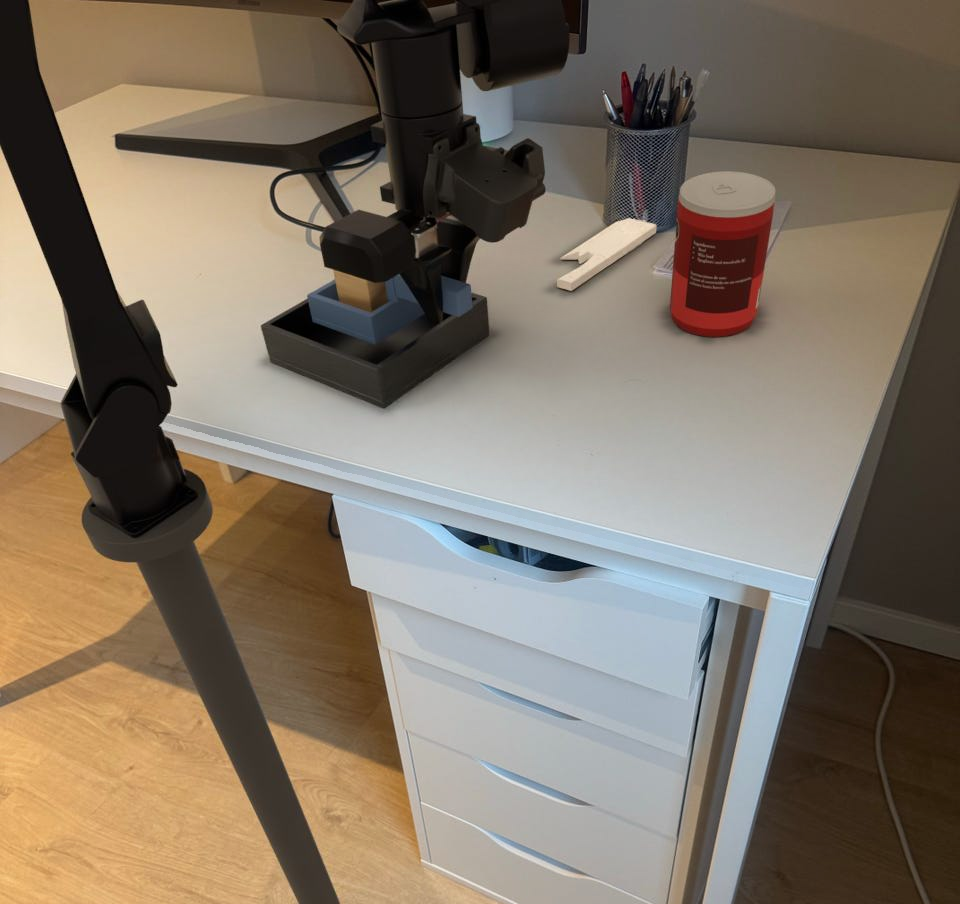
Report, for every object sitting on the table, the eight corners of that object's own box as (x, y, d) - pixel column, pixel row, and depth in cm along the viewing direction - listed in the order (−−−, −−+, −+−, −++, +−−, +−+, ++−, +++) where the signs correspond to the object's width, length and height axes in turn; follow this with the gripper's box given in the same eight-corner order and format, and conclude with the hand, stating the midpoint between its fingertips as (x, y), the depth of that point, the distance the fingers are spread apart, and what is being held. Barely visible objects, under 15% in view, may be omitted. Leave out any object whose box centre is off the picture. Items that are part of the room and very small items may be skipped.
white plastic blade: (529, 279, 89) (529, 268, 88) (616, 224, 96) (616, 213, 95) (571, 291, 86) (571, 279, 85) (657, 233, 94) (657, 222, 93)
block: (374, 324, 77) (366, 279, 74) (341, 313, 79) (332, 268, 76) (405, 305, 79) (398, 260, 76) (372, 294, 81) (365, 250, 78)
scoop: (438, 368, 72) (431, 309, 69) (312, 322, 79) (300, 266, 76) (497, 327, 76) (494, 269, 73) (372, 286, 83) (363, 232, 79)
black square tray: (384, 408, 75) (377, 369, 72) (270, 362, 82) (260, 325, 79) (489, 334, 82) (487, 296, 79) (377, 297, 89) (371, 261, 86)
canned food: (719, 288, 85) (734, 163, 77) (775, 322, 80) (798, 192, 72) (651, 311, 83) (659, 185, 75) (704, 347, 78) (719, 217, 70)
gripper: (419, 170, 54) (446, 398, 65) (594, 80, 63) (590, 293, 75) (293, 141, 59) (338, 357, 71) (471, 62, 69) (486, 264, 80)
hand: (444, 317), depth 74 cm, fingers closed on scoop, 2 cm apart
